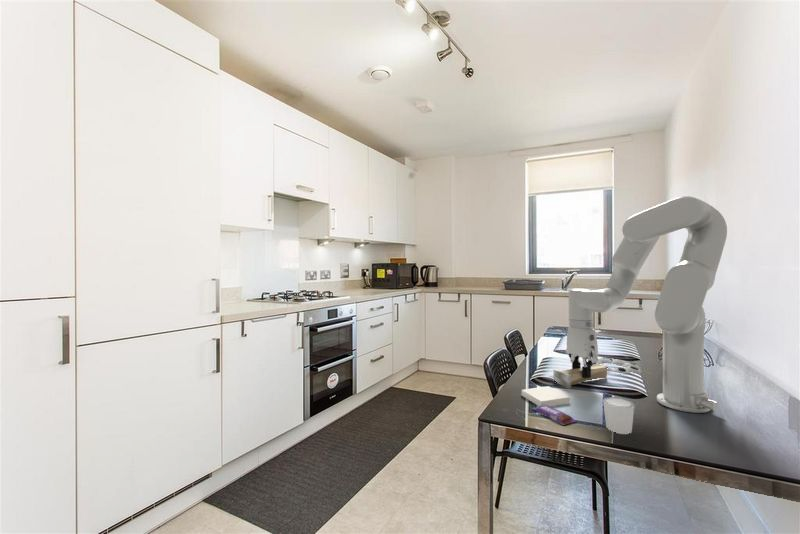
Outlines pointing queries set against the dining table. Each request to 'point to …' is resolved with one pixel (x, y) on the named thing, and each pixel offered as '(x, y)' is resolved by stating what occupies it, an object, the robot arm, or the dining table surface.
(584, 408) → the dining table surface
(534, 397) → the tile
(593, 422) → the dining table surface
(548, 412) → the snack package
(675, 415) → the dining table surface
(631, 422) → the white cylinder
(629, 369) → the paint palette
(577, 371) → the tan wooden plank
